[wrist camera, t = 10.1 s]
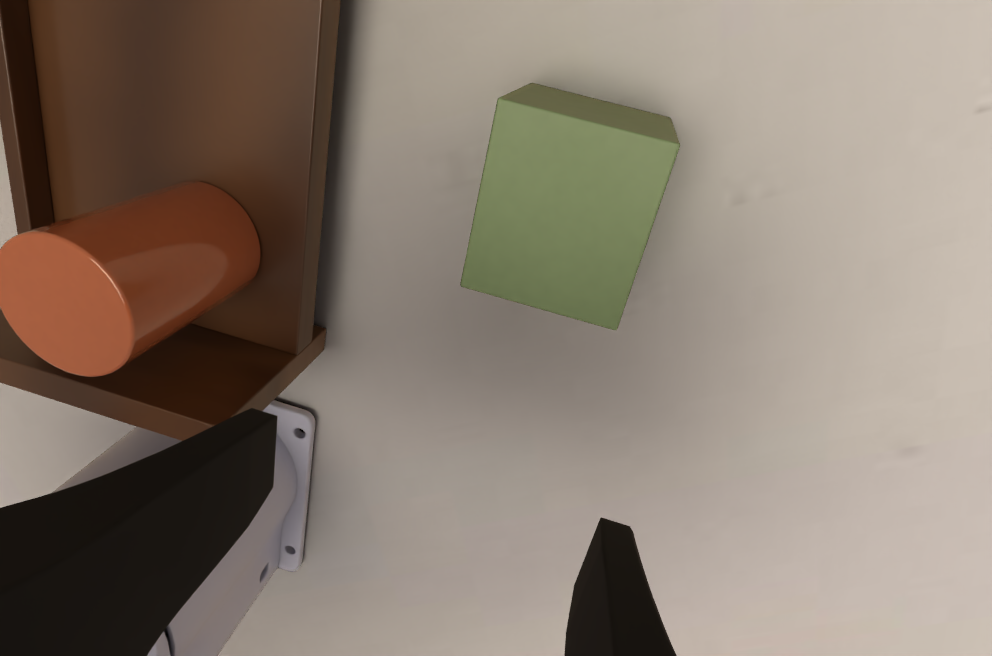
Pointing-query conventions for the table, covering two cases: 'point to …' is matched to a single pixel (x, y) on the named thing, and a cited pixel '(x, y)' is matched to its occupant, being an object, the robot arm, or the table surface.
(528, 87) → the green block
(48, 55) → the shelf
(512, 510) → the table surface
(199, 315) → the terracotta cylinder
